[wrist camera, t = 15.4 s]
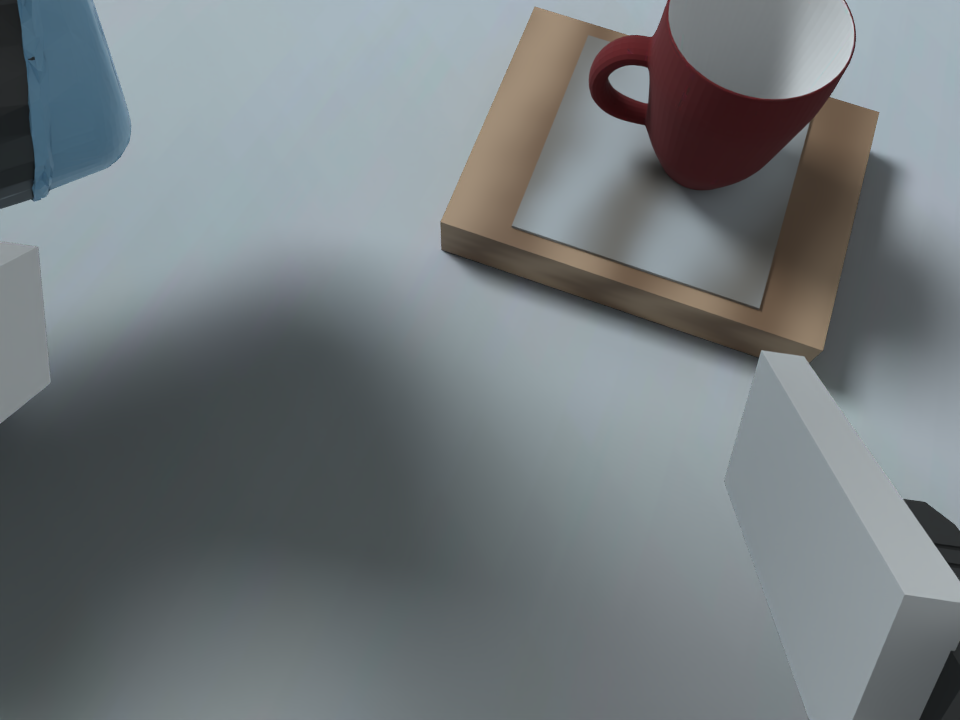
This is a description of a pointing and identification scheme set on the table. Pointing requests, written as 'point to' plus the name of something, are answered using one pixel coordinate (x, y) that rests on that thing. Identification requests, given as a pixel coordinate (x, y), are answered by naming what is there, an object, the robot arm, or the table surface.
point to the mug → (728, 81)
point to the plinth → (655, 205)
